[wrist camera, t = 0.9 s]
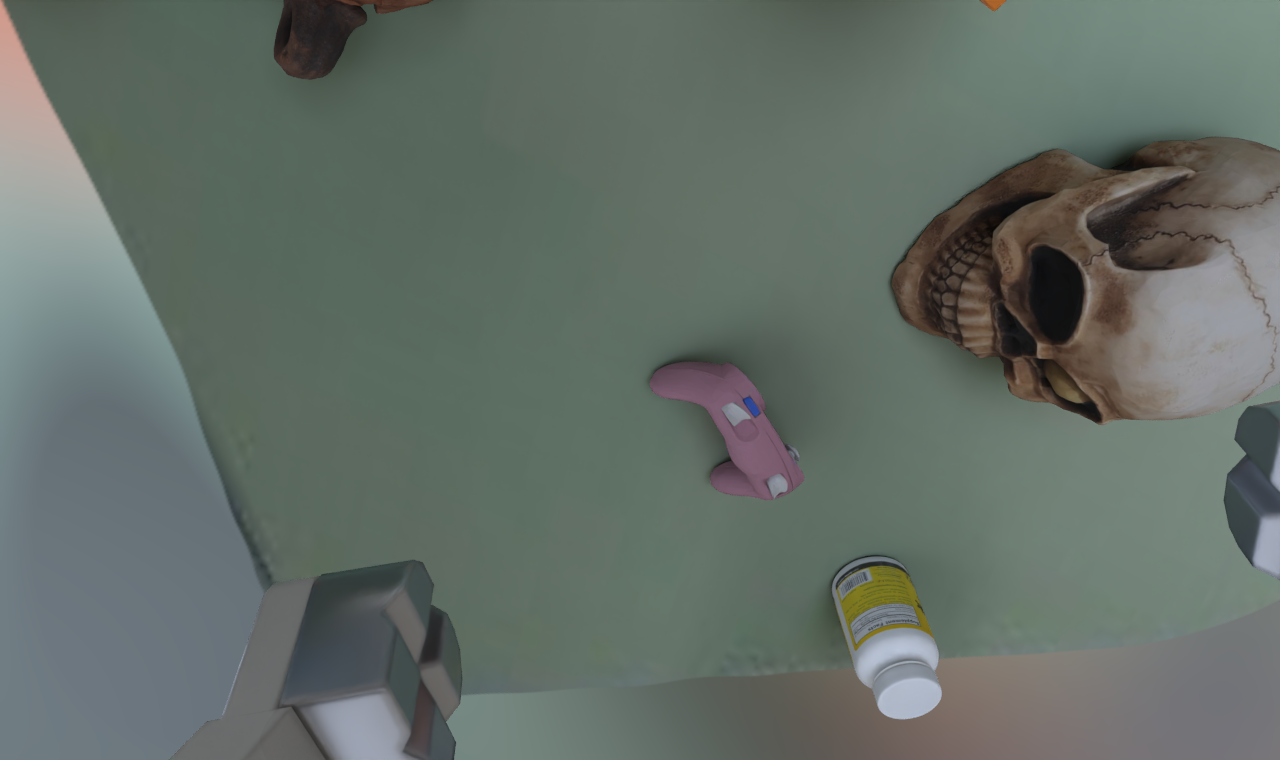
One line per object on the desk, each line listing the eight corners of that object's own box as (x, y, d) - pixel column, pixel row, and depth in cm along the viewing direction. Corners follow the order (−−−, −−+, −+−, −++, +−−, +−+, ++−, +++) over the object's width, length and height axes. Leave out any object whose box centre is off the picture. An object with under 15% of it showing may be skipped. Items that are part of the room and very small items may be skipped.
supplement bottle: (898, 607, 71) (940, 727, 63) (823, 606, 70) (856, 727, 62) (917, 553, 68) (963, 672, 60) (839, 552, 67) (875, 671, 59)
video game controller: (764, 441, 63) (832, 489, 57) (709, 487, 62) (772, 540, 56) (698, 325, 58) (766, 365, 52) (637, 374, 57) (699, 421, 51)
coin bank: (865, 297, 55) (968, 434, 44) (1084, 16, 48) (1272, 92, 37) (1055, 406, 61) (1189, 551, 50) (1273, 169, 55) (1483, 274, 43)
